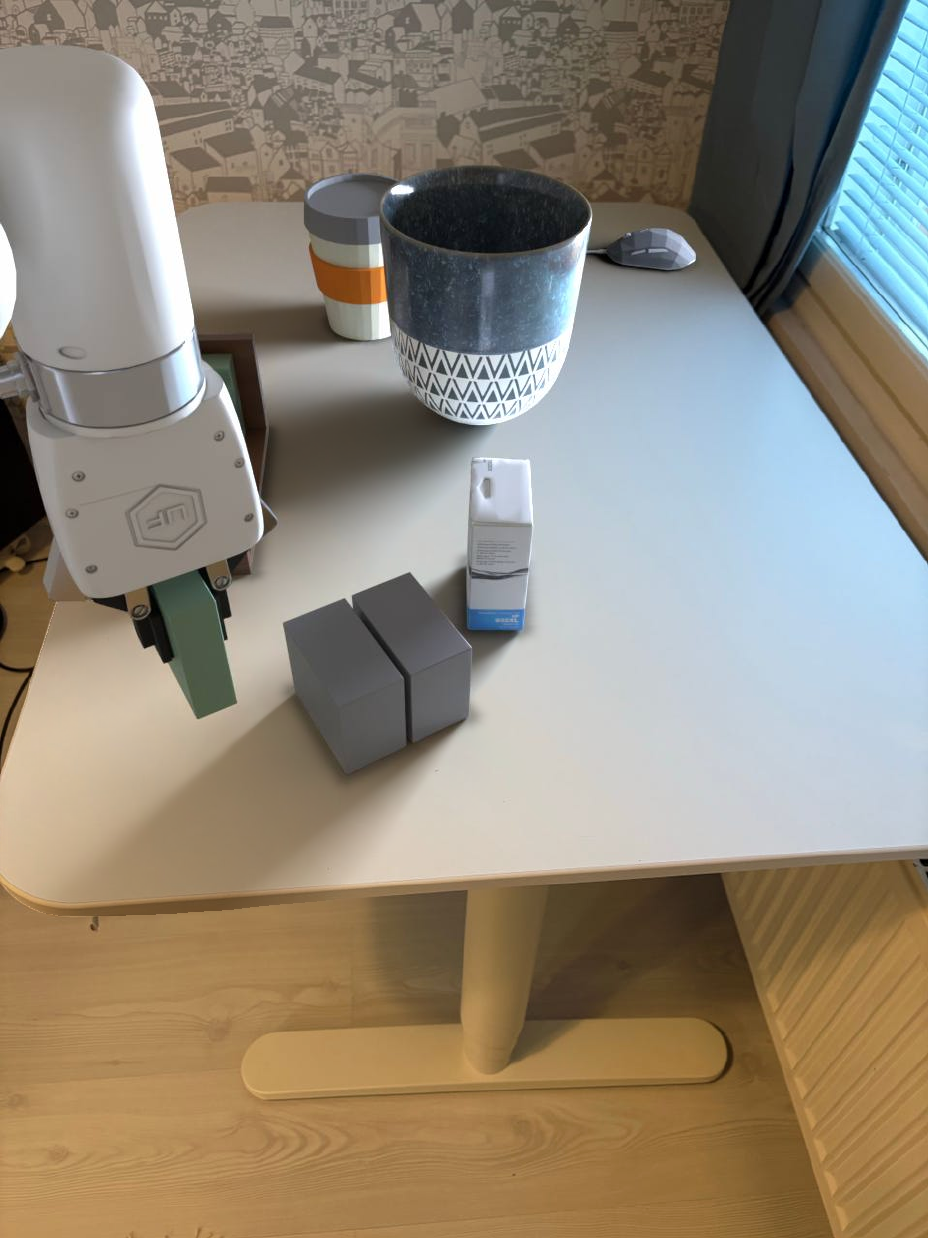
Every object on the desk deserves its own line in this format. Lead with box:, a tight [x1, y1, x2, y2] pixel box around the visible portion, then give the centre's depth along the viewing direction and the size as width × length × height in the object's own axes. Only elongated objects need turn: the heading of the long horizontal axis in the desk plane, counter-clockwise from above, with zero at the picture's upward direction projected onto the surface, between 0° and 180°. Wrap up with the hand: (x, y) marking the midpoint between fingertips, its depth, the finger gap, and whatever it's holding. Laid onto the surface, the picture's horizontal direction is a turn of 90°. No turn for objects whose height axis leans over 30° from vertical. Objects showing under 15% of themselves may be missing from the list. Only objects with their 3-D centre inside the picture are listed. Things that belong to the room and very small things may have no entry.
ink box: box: [466, 456, 534, 631], centre depth 75 cm, size 8×5×12 cm, turn 179°
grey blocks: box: [282, 571, 473, 776], centre depth 68 cm, size 10×9×8 cm
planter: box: [378, 164, 593, 426], centre depth 91 cm, size 20×20×21 cm
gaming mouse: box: [586, 227, 697, 271], centre depth 122 cm, size 6×15×4 cm, turn 82°
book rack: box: [197, 332, 270, 576], centre depth 83 cm, size 21×11×11 cm, turn 4°
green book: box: [147, 569, 238, 720], centre depth 54 cm, size 3×7×9 cm, turn 32°
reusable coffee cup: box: [303, 172, 401, 341], centre depth 105 cm, size 13×13×15 cm
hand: (187, 634), depth 55 cm, fingers closed on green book, 2 cm apart
